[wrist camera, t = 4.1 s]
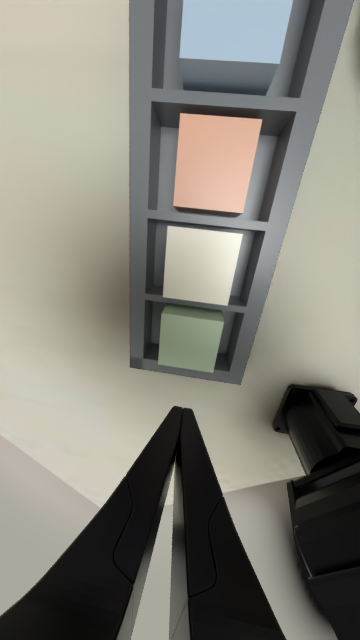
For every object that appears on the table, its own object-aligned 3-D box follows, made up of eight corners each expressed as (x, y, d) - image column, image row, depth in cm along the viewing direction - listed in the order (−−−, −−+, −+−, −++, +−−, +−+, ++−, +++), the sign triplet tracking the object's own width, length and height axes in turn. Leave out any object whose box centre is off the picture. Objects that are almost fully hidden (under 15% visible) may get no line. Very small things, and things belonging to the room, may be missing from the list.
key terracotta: (237, 216, 14) (243, 213, 12) (177, 210, 15) (173, 205, 12) (252, 139, 12) (262, 119, 10) (184, 134, 13) (180, 113, 11)
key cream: (224, 295, 15) (227, 305, 13) (168, 288, 15) (162, 297, 13) (236, 234, 13) (242, 234, 11) (173, 227, 14) (167, 225, 11)
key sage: (211, 355, 17) (213, 372, 15) (163, 348, 18) (158, 364, 16) (221, 310, 16) (224, 322, 13) (167, 302, 16) (161, 313, 14)
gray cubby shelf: (235, 364, 20) (240, 384, 17) (139, 349, 20) (129, 367, 18) (344, -44, 10) (399, -153, 7) (148, -49, 10) (129, -151, 8)
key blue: (263, 99, 11) (279, 63, 8) (184, 93, 11) (179, 58, 9) (290, -33, 9) (319, -122, 7) (194, -36, 9) (191, -122, 7)
